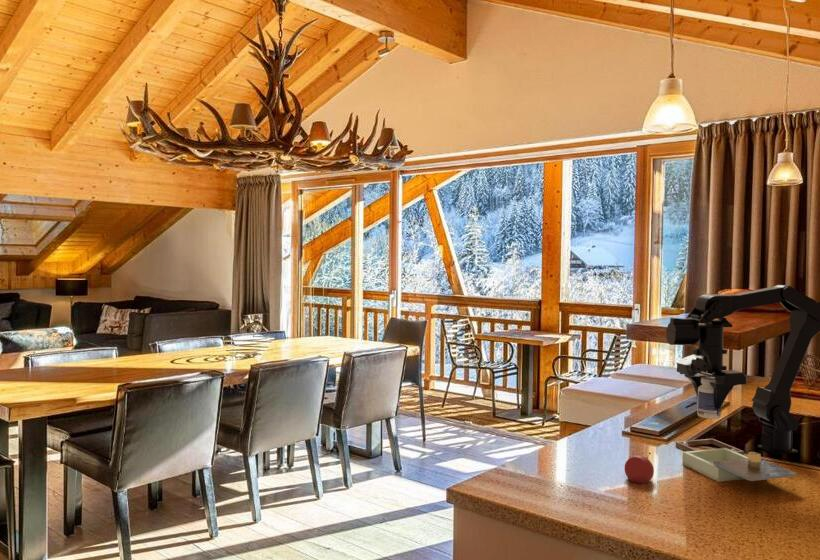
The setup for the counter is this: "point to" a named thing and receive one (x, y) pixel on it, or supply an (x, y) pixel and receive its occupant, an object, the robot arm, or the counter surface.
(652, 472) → the fruit
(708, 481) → the counter surface
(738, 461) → the lid
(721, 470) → the box
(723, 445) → the frame
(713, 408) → the pill bottle
